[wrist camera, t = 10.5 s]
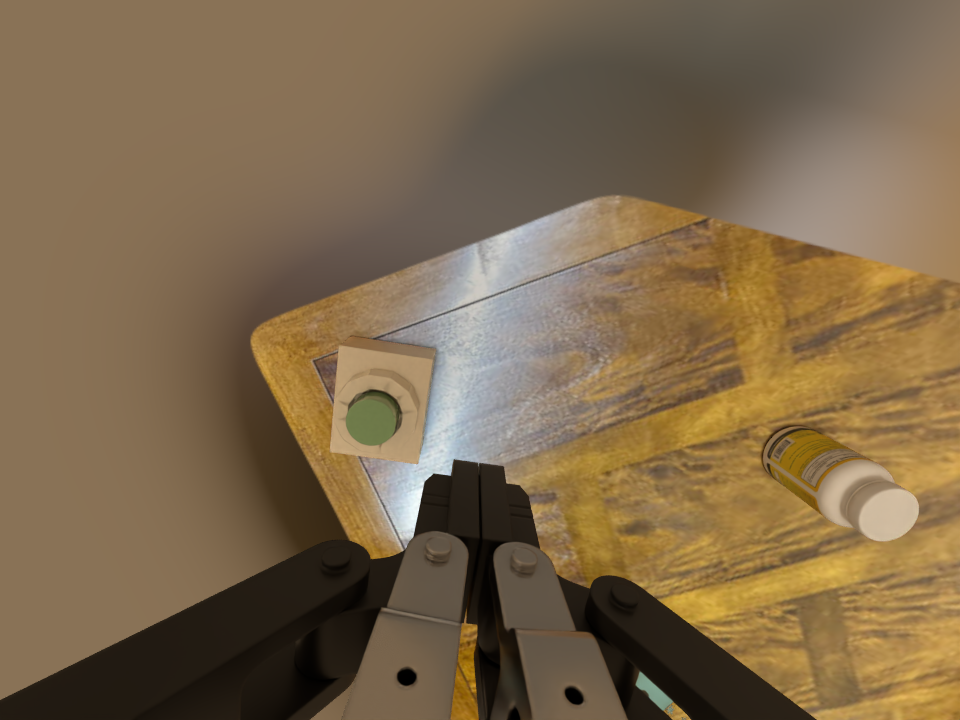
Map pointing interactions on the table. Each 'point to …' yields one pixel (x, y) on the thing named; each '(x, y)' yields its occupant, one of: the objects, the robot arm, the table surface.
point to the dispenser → (391, 373)
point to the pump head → (372, 418)
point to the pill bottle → (840, 483)
